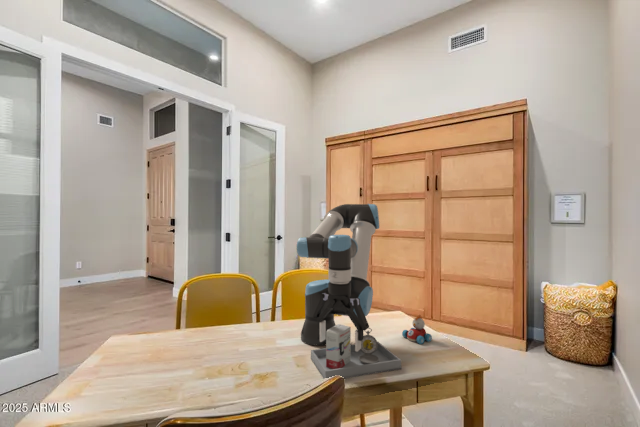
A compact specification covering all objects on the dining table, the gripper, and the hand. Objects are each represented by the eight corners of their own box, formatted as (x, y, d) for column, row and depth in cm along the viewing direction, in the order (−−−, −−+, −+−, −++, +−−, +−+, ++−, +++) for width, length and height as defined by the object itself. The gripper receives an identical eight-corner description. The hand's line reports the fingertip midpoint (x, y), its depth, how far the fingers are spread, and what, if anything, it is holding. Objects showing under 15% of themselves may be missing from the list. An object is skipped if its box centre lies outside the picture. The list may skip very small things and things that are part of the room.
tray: (325, 381, 96) (325, 371, 97) (310, 358, 112) (310, 350, 112) (401, 369, 104) (401, 359, 104) (377, 349, 120) (377, 341, 120)
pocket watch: (367, 367, 104) (367, 336, 104) (352, 357, 111) (352, 328, 111) (386, 361, 108) (386, 332, 108) (370, 352, 115) (370, 324, 116)
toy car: (400, 337, 132) (400, 313, 132) (415, 333, 136) (415, 310, 136) (418, 345, 124) (418, 319, 124) (433, 340, 129) (433, 316, 129)
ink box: (338, 371, 102) (338, 333, 102) (325, 367, 104) (325, 330, 104) (351, 361, 109) (351, 326, 109) (338, 357, 112) (338, 323, 112)
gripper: (302, 279, 111) (302, 340, 111) (369, 288, 97) (369, 358, 97) (315, 275, 117) (315, 333, 117) (379, 284, 103) (379, 349, 103)
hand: (339, 345), depth 107 cm, fingers open, 13 cm apart
